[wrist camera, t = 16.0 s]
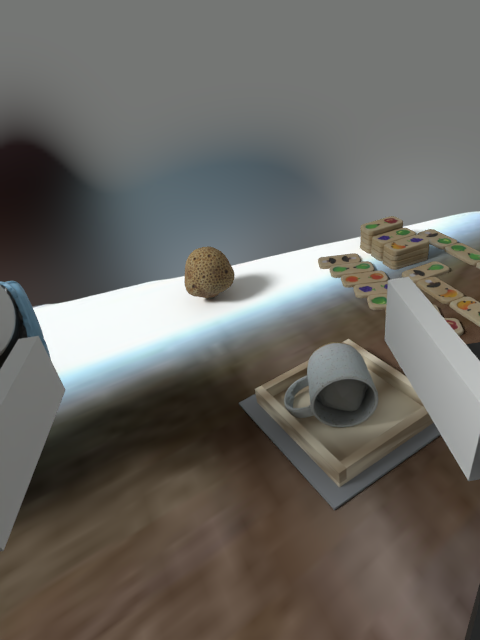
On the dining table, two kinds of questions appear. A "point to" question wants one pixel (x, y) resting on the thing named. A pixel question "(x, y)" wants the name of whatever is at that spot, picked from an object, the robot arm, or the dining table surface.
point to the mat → (316, 474)
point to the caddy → (355, 441)
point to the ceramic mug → (335, 387)
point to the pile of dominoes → (400, 251)
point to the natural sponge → (207, 273)
